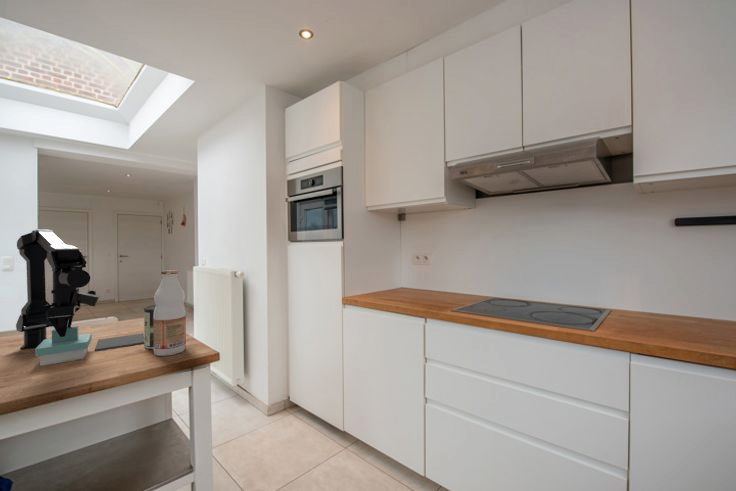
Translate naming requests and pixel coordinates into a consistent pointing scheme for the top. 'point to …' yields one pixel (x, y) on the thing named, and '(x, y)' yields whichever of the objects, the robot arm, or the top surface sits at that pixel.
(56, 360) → the box
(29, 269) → the robot arm
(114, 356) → the top surface
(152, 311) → the coffee can
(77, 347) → the lid
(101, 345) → the mat
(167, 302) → the fruit juice
